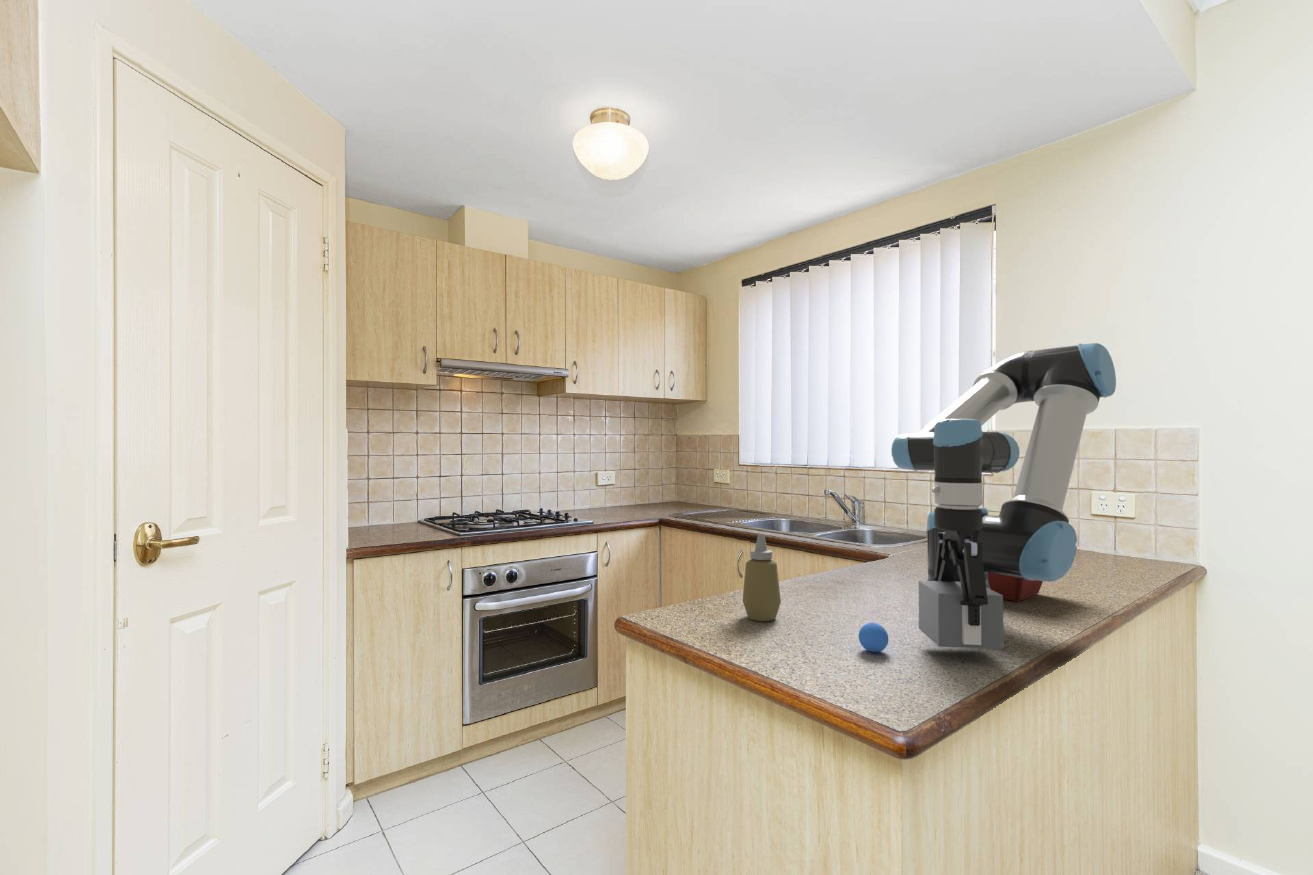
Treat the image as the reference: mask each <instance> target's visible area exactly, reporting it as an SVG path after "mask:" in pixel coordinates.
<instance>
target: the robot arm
mask: <svg viewBox="0 0 1313 875" xmlns="http://www.w3.org/2000/svg"><path fill="white" fill-rule="evenodd" d="M1116 376H1117V375H1116V370H1115V365H1114V362H1113V359H1112V356H1111V354H1110V352H1109V350H1108V349H1107V348H1106V347H1105V346H1104V345H1103V344H1101V343H1097V342H1094V343H1093V342H1091V343H1077V345H1068V346H1061V347H1053V348H1045V349H1044V348H1043V349H1037V350H1027V351H1022V352H1020V353H1015V354H1014V355H1011V356H1010V357H1006V358H1005V359H1003V360H1001V361H999V362H997V363H995V364H994V365H992V366H991V367H989V368H988V369H985V371H983V372H982V373H981V374H979V376H978V377H976V378H975V380H974V382H973V385H972V387H971V388H970V389H968V390H967V391H966V392H965V393H964V394H963V395H961V396H960V397H959V398H957V399H956V400H955V401H954V402H952V403H951V404H950V405H949V406H948V407H947V408H945V409H944V410H943V411H941V412H940V413H939V414H938V415H937V416H936V417H935V418H933V419H932V420H931V421H930V422H929V423H927V424H926V425H925V426H923V427H922V428H921V429H920V430H918V431H917V432H915V433H912V432H907V433H904V434H898V435H897V436H896V437H895V438H894V440H893V442H892V445H891V452H890V453H891V457H892V460H893V462H894V464H895V465H896V466H897V468H899V469H901V470H908V471H909V470H910V471H914V472H916V471H917V472H918V471H927V472H928V471H930V472H931V471H934V478H933V480H934V481H933V483H934V487H932V488H931V492H932V493H934V503H935V504H936V505H938V506H935V508H934V509H933V511H931V512H930V513H929V514H928V516H927V523H926V530H925V532H926V542H927V543H926V547H927V553H926V554H927V579H926V581H949V582H960V583H961V587H962V592H963V597H964V600H962V601H961V602H960V604H961V605H962V643H963V644H967V645H981V606H982V605H983V604H984V605H987V604H988V598H987V591H986V587H987V588H989V589H990V586H989V582H988V572H990V573H996V574H1001V575H1007V576H1013V577H1019V578H1025V579H1027V580H1031V581H1035V580H1039V581H1043V582H1047V583H1048V582H1056V581H1058V580H1060V579H1062V578H1063V577H1065V575H1067V573H1068V572H1070V569H1071V568H1072V566H1073V564H1074V561H1075V558H1076V555H1077V550H1078V547H1077V546H1076V545H1077V543H1078V535H1077V533H1076V530H1075V528H1074V527H1073V525H1072V524H1070V520H1069V519H1070V518H1069V517H1068V515H1066V513H1065V512H1064V511H1063V509H1064V505H1065V501H1066V497H1067V494H1068V488H1069V485H1070V481H1071V479H1072V474H1073V469H1074V467H1075V466H1074V465H1075V462H1076V458H1077V453H1078V449H1079V445H1080V442H1081V438H1082V434H1083V430H1084V425H1085V423H1086V418H1087V415H1089V414H1091V413H1093V412H1094V411H1096V410H1097V408H1098V407H1099V402H1100V398H1105V399H1106V398H1108V397H1111V396H1113V395H1114V393H1115V391H1116V387H1117V377H1116ZM1027 402H1028V403H1029V402H1034V403H1035V405H1036V406H1038V409H1037V412H1036V417H1035V419H1034V420H1035V421H1034V424H1033V426H1032V430H1031V434H1030V437H1029V441H1028V443H1027V444H1028V445H1027V447H1026V450H1025V455H1024V458H1023V461H1022V465H1021V469H1020V472H1019V475H1018V480H1017V482H1016V487H1015V490H1014V493H1013V497H1012V498H1011V499H1009V500H1005V502H1003V503H1002V504H1001V508H1000V511H999V514H998V515H990V514H989V511H988V509H987V508H986V507H984V506H983V502H984V501H983V478H982V477H983V476H982V474H983V473H995V474H998V473H1000V472H1006V471H1008V470H1010V469H1012V468H1014V467H1015V465H1016V464H1017V462H1018V460H1019V459H1020V452H1021V451H1020V446H1019V444H1018V442H1017V441H1016V440H1015V439H1014V437H1012V436H1011V435H1009V434H1007V433H1002V432H1000V431H983V430H982V428H983V425H985V424H986V423H987V422H988V421H989V420H990V419H991V418H993V416H995V415H996V414H997V413H998V412H999V411H1004V410H1007V409H1009V408H1010V407H1012V406H1013V405H1015V404H1019V403H1020V404H1021V403H1027ZM981 506H983V507H981ZM975 596H976V597H975Z"/></svg>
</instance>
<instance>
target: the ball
mask: <svg viewBox="0 0 1313 875" xmlns="http://www.w3.org/2000/svg"><path fill="white" fill-rule="evenodd" d="M858 640H859V643H860V645H861V647H863V649H865V650H866V651H867V652H870V653H880V652H883V651H884V650H885V649H886V647H888V644H889V635H888V632H887V630H886V629H885V628H884V627H883V625H881V624H879V623H875V622H868V623H865V624H864V625H862V627H861V628H860V629H859V631H858Z"/></svg>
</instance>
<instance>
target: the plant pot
mask: <svg viewBox="0 0 1313 875" xmlns="http://www.w3.org/2000/svg"><path fill="white" fill-rule="evenodd" d="M988 582H989V586H990V589H991V590H993V591H995V592H997V593H999V594H1001V595H1003V600H1006V601H1013V602H1020V601H1023V600H1025V599H1028V598H1031V597H1033V596H1036V595H1038V594H1039V592H1040V590H1041V588H1042V585H1043V584H1044V583H1043V582H1044V581H1039V580H1035V581H1031V580H1027V579H1025V578H1019V577H1013V576H1007V575H1001V574H996V573H990V572H988Z"/></svg>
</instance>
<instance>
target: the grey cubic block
mask: <svg viewBox="0 0 1313 875" xmlns="http://www.w3.org/2000/svg"><path fill="white" fill-rule="evenodd" d="M986 591H987V598H988V604H987V605H984V604H983V605H982V606H981V645H967V644H963V643H962V605H961V604H960V602H961V601H962V600H964V597H963V592H962V587H961V583H960V582H949V581H927V580H918V629H919V630H920V631H921V632H922V633H923V634H924V635H925V636H926V637H928V639H930V641H932V642H933V643H934V644H935V645H936V646H938V647H939V648H941V647H943V648H965V649H989V650H1004V599H1003V595H1001V594H999V593H997V592H995V591H993V590H991V589H989V588H987V587H986ZM975 597H976V596H975Z"/></svg>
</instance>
